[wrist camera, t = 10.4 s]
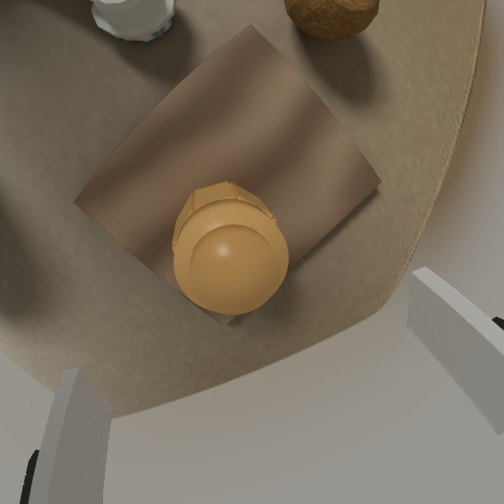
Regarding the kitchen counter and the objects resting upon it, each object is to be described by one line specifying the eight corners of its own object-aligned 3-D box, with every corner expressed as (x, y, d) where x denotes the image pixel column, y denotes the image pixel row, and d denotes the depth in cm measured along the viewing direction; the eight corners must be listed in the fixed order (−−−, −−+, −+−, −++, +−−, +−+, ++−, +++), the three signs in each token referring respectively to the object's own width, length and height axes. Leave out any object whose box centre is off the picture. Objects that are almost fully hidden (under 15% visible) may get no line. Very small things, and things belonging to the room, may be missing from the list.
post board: (80, 197, 22) (52, 218, 17) (247, 29, 19) (262, 5, 14) (222, 316, 28) (229, 357, 23) (372, 178, 25) (410, 193, 20)
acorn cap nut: (193, 275, 24) (194, 340, 17) (167, 198, 22) (154, 237, 15) (272, 253, 25) (304, 309, 18) (254, 174, 22) (284, 201, 15)
